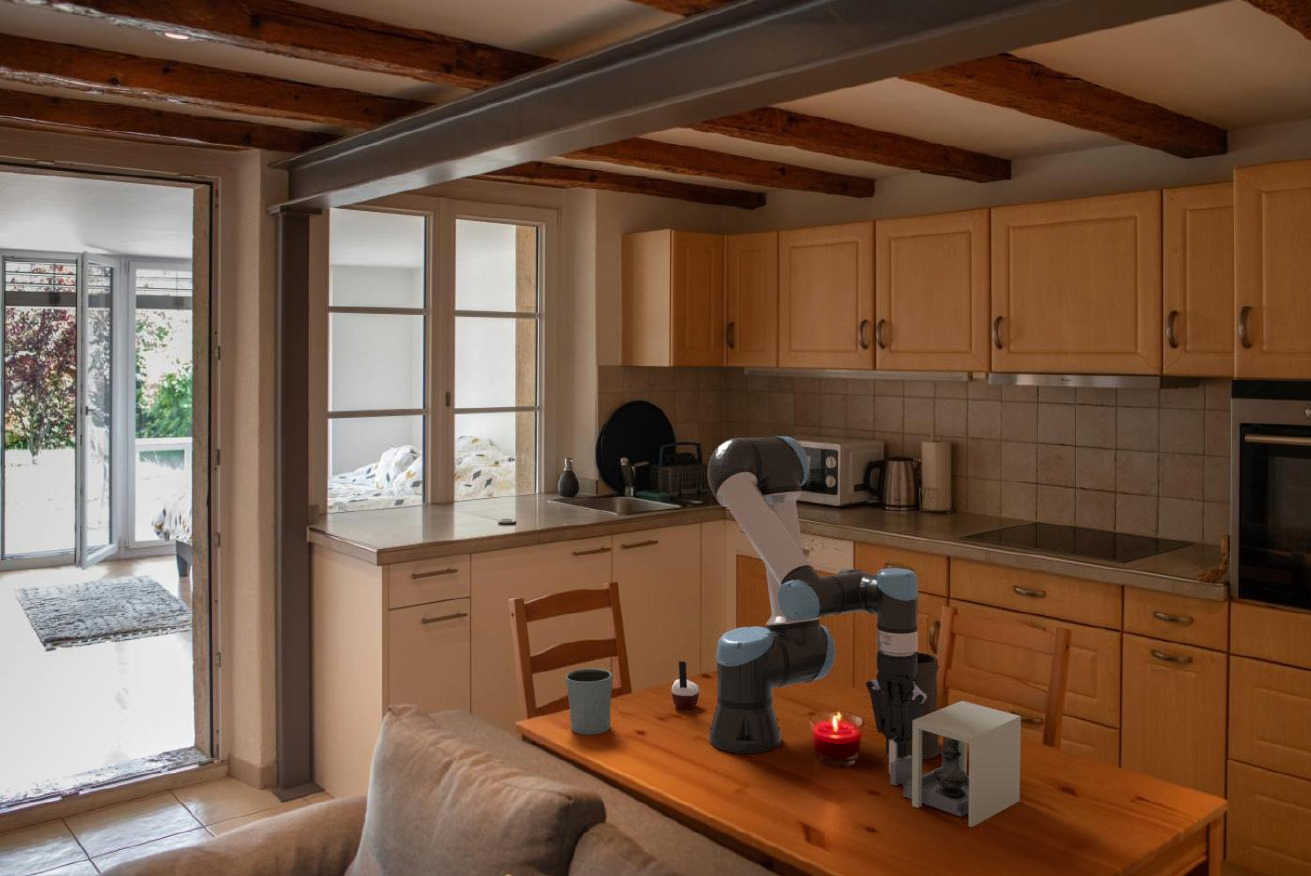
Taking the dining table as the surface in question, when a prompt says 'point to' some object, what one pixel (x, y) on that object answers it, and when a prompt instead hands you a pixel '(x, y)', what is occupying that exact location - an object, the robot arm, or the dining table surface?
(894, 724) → the robot arm
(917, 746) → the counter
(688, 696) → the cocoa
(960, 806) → the tray
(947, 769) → the dark grey tall piece
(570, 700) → the grey-blue cup
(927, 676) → the beer stein
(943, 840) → the dining table surface
